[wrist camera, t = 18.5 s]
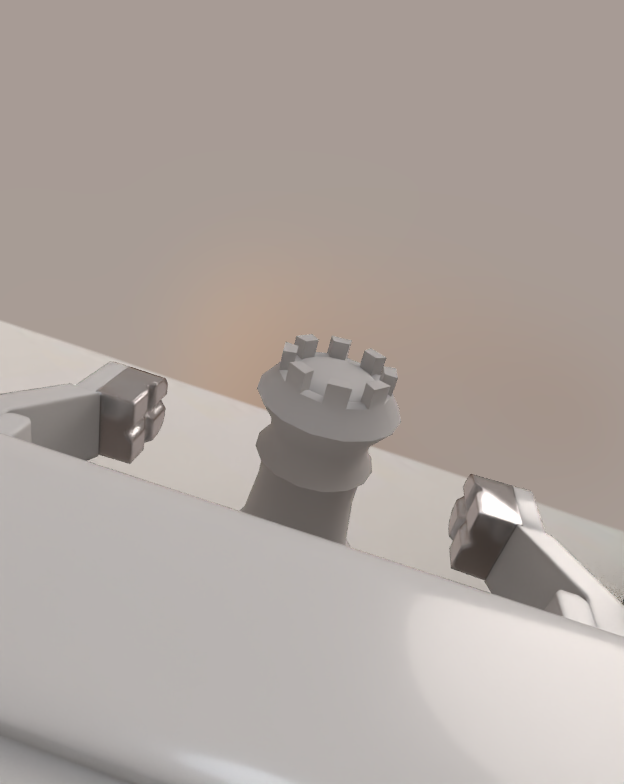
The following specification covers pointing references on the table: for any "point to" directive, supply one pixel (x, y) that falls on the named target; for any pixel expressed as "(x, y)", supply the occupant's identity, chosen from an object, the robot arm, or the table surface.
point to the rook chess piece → (320, 434)
